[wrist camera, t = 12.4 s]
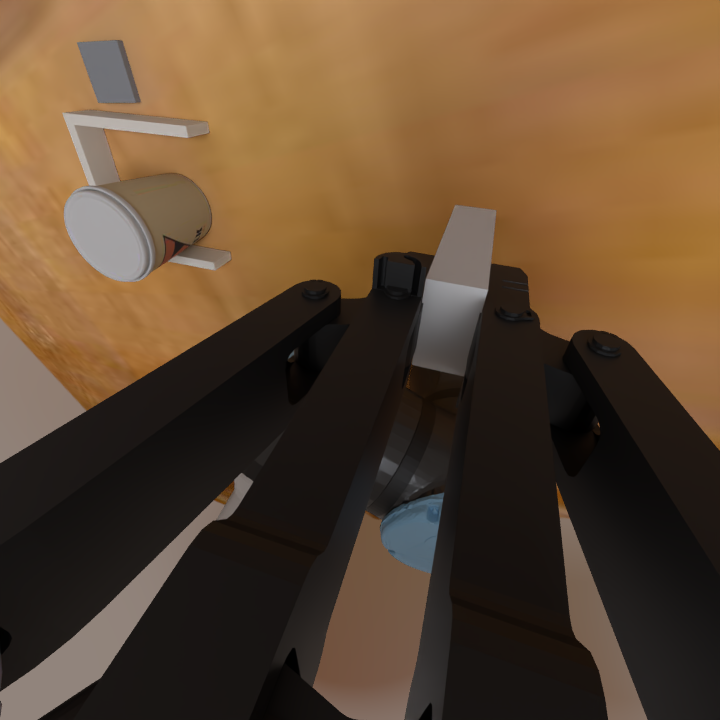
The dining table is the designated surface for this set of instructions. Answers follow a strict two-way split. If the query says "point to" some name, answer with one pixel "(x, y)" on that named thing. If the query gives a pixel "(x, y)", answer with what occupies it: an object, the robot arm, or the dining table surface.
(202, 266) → the frame
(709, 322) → the dining table surface
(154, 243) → the coffee cup
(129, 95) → the slate tile
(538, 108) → the dining table surface
